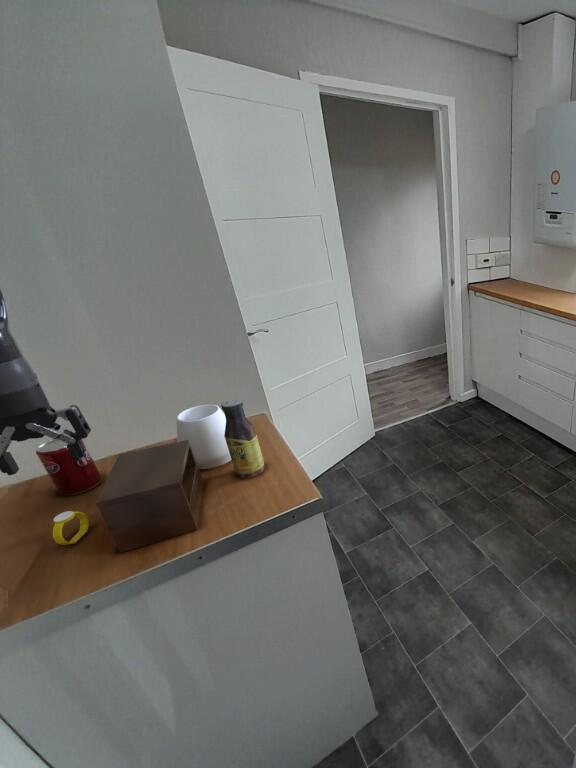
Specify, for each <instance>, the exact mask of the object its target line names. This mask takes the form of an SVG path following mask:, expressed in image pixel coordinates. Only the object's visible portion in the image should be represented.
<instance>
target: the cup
mask: <svg viewBox="0 0 576 768" xmlns="http://www.w3.org/2000/svg"><path fill="white" fill-rule="evenodd" d="M225 426H226V417H225V413H224V411H223V410H222V408H220V406H219V405H217V404H201V405H196V406H193V407H190V408H188V409H185V410H183V411H181V412H179V414H177V416H176V440H177V441H176V442H180V441H185V440H189V443H190V446H191V448H192V451H193V454H194V457H195V460H196V463H197V465H198V468H199V470H209V469H215V468H217V467H218V468H219V467H220V466H223V465H225V464H227V463H229V462H231V461H232V459H231V456H230V453H229V450H228V446H227V443H226V440H225V437H224V435H225Z"/></svg>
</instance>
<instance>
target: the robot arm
mask: <svg viewBox="0 0 576 768" xmlns="http://www.w3.org/2000/svg"><path fill="white" fill-rule="evenodd" d="M9 323H10V322H9V316H8V311H7V306H6V301H5V297H4V293H3V292H2V289H1V288H0V472H1V473H3V474H7V475H8V476H14V475H16V474H17V473H18V471H19V470H20V467H19V465H18V463H17V461H16V460H15V458H14V457H13V455H12V453H11V452H10V451H7V450H8V449H9V447H10V445H11V443H12V442H13V441H14V442H17V443H19V442H24V441H27V440H31V439H34V440H35V439H41V438H44V437H45V436H46V437H48V438H51V439H59V440H61V441H63V442H66V443H68V444H67V447H68V449H69V451H70V453H71V455H72V457H73V459H74V461H80V460H81V459H82V457H83V456H84V454H85V449H84V447H83V445H82V443H81V439H82V440H83V439H86V438H88V436H89V434H90V433H91V431H92V429H91V427H90V425H89V424H88V422H87V420H86V418H85V416H84V415H83V413H82V411H81V409H80V407H79V406H78V405H76V404H71V405H70V406H69V407H66V408H62V409H55V408H53V407H52V406H51V404H50V402H49V400H48V397H47V395H46V394H45V391H44V389H43V388H42V385H41V384H40V381H39V379H38V376H37V374H36V372H34V369H33V367H32V366H31V364H30V363H29V361H28V360H27V359H26V357H25V355H24V354H23V352H22V350H21V348H20V346H19V344H18V342H17V340H16V338H15V336H14V335H13V333H12V332H11V328H10V324H9ZM58 418H62V419H63V420H64V421H67V422H69V423H70V425H71V427H72V429H70V428H68V426H66V425H65V424H62V423H60V422H59V421H57V420H58Z"/></svg>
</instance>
